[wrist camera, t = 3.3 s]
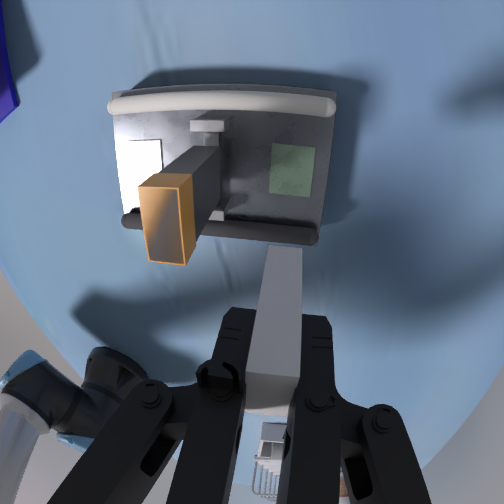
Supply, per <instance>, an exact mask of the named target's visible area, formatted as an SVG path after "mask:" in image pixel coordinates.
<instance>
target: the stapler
mask: <svg viewBox="0 0 504 504" xmlns="http://www.w3.org/2000/svg"><path fill="white" fill-rule="evenodd" d="M17 107H18V102H17V98H16V94H15V90H14V85H13V81H12V76H11V71H10V66H9V61H8V55H7V49H6V42H5V34H4V26H3V15H2V0H0V123H1V122H2V121H3V120H4V119H5V118H6V117H7V116H8V115H9V114H10V113H11V112H12V111H14V110H15V109H16V108H17Z"/></svg>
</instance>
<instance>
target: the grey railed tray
mask: <svg viewBox="0 0 504 504" xmlns="http://www.w3.org/2000/svg"><path fill="white" fill-rule="evenodd" d="M107 109H108V112H109V113H110V114H112V115H119V114H129V113H140V112H153V111H171V110H251V111H269V112H282V113H294V114H304V115H313V116H321V117H330V116H332V115H333V114H334V113H335V112H336V104H335V102H334V101H333V100H332V99H330V98H327V97H319V96H311V95H302V94H291V93H279V92H263V91H234V90H211V91H181V92H165V93H153V94H143V95H134V96H126V97H118V98H113V99H112V100H110V101H109V103H108V105H107ZM121 223H122V225H123V226H124V227H125V228H128V229H140V230H143V225H142V218H141V213H126V214H124V215H123V217H122V219H121ZM200 235H207V236H218V237H228V238H238V239H249V240H259V241H269V242H279V243H289V244H299V245H308V246H311V245H314V244H316V243H317V241H318V239H319V235H318V232H317V231H316V230H315V229H313V228H307V227H297V226H288V225H278V224H267V223H257V222H246V221H235V220H224V221H218V220H208V221H207V223H206V225H205V227H204V228H203V230H202V232H201V234H200Z"/></svg>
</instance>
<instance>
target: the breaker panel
mask: <svg viewBox="0 0 504 504" xmlns="http://www.w3.org/2000/svg"><path fill="white" fill-rule="evenodd" d="M211 90H234V91H263V92H279V93H291V94H302V95H311V96H319V97H327V98H330V99H332V100H333V101H334V102H335V104H336V102H337V92H334V91H329V90H322V89H313V88H305V87H294V86H283V85H267V84H241V83H210V84H184V85H169V86H157V87H147V88H138V89H131V90H124V91H118V92H113V93H112V99H113V98H118V97H126V96H134V95H143V94H153V93H165V92H181V91H211ZM113 122H114V134H115V145H116V155H117V163H118V172H119V179H120V187H121V193H122V200H123V206H124V212H125V214H126V213H141V211H140V204H139V197H138V189H137V186H138V185H140V184H141V183H142V182H143V181H145V180H146V179H147V178H148V177H150V176H151V175H152V174H153V173H158V172H159V171H161V170H162V169H163V168H164V167H166V166H167V165H168V164H170V163H171V162H172V161H173V160H175V159H176V158H177V157H179V156H180V155H181V154H183V153H184V152H185V151H187V150H188V149H190V148H191V147H192V146H204V143H203V133H204V132H219V146H220V200H219V202H218V204H217V205H216V207H215V209H214V211H213V212H212V214H211V216H210V218H209V220H218V221H224V220H235V221H246V222H257V223H267V224H278V225H288V226H297V227H307V228H313V229H315V230H316V231H317V232H318V235H319V231H320V225H321V219H322V212H323V206H324V199H325V193H326V186H327V179H328V171H329V164H330V156H331V148H332V140H333V131H334V122H335V113H334V114H333V115H332V116H330V117H321V116H313V115H304V114H294V113H282V112H269V111H251V110H171V111H153V112H140V113H129V114H119V115H113ZM317 242H318V241H317ZM314 245H316V246H317V243H316V244H314Z"/></svg>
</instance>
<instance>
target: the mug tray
mask: <svg viewBox="0 0 504 504" xmlns="http://www.w3.org/2000/svg"><path fill="white" fill-rule="evenodd" d="M286 427H287V425H283V424H271V423H263V425H262V430H261V436H260V441H259V448H258V455H257V457H264V458H270V455H271V442H277V443H284V439H282V438H283V435H284V432H285V429H286ZM264 441H266V442H264Z"/></svg>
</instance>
